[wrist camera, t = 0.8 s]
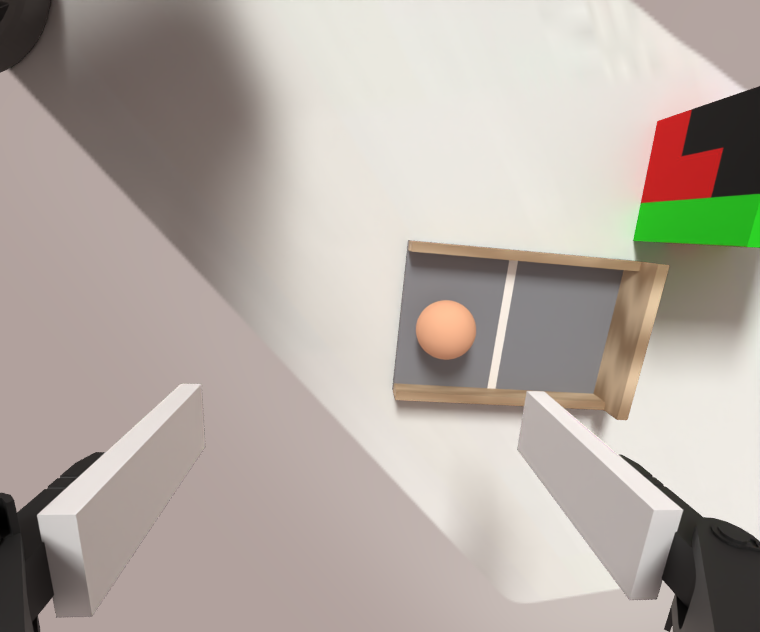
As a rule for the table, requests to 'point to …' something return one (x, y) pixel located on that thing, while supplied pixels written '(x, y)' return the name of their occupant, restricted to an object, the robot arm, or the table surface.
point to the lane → (510, 322)
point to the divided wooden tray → (621, 346)
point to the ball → (446, 329)
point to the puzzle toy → (705, 176)
